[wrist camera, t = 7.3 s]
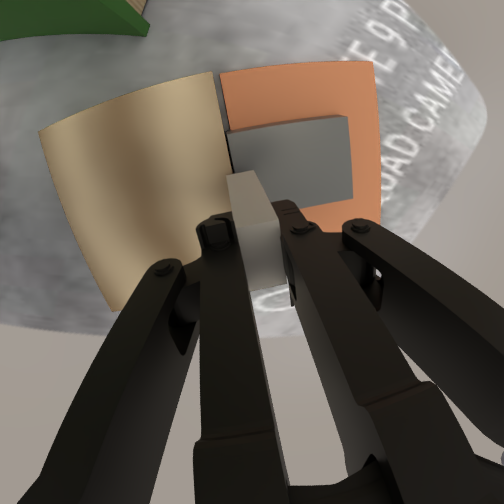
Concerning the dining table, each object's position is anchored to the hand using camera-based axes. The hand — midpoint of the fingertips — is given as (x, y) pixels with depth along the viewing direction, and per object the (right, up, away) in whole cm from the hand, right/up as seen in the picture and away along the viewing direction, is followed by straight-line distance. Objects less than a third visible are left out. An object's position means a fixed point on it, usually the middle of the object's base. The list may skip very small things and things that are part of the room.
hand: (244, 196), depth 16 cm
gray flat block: (+3, +3, +4) cm, 6 cm away
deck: (-6, +1, +4) cm, 8 cm away
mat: (+5, +4, +5) cm, 8 cm away
